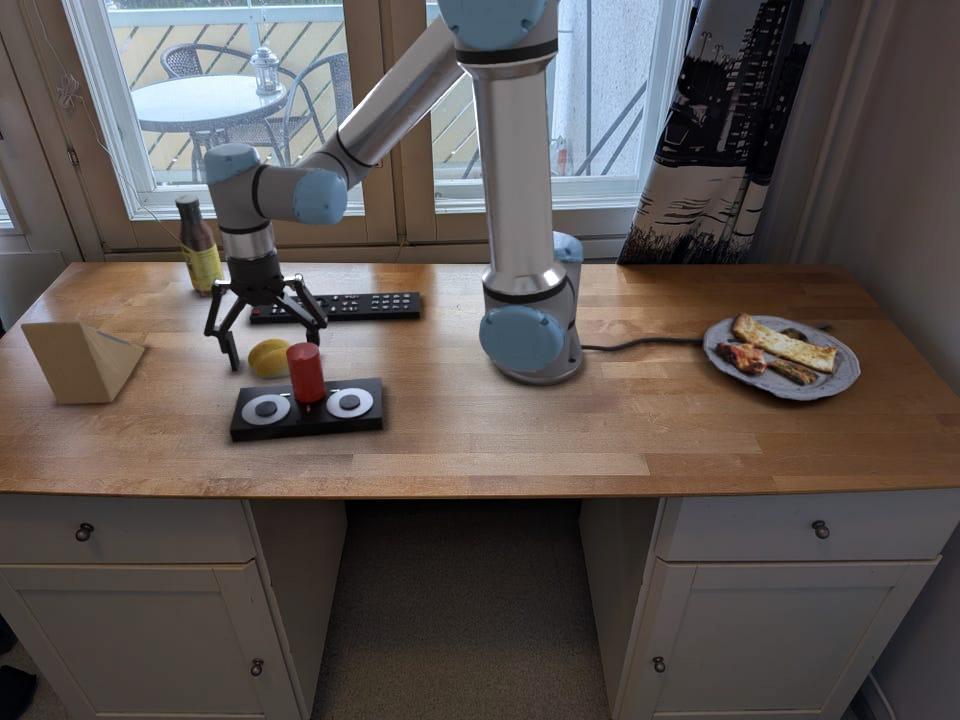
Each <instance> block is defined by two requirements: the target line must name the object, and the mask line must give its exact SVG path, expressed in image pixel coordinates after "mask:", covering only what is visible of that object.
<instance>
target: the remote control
mask: <svg viewBox="0 0 960 720" xmlns="http://www.w3.org/2000/svg"><path fill="white" fill-rule="evenodd" d="M288 296H289V297H290V298H291V299H292V300H294V301H295V302H296V303H297V304H298V305H299V306H301V307H302V308H303V309H304V310H305V311H306V312H308V313H309V314H310V312H309V311H308V310H307V308H306V307H305V305H304V304H303V303H302V301H301V300H300V299H299V297H298V296H297V295H288ZM312 296H313V297H314V298H315V300H316V301H317V303H318V304H319V305H320V307H321V308H322V310H323V311H324V312H325V314H326V315H327V317H328V323H336V322H364V321H366V322H367V321H392V320H397V321H398V320H419V319H421V292H420V291H407V292H379V293H376V292H375V293H349V294H348V293H346V294H345V293H343V294H342V293H341V294H317V295H315V294H314V295H313V294H312ZM310 315H311V314H310ZM311 316H312V315H311ZM312 317H313V316H312ZM249 322H250V326H253V325H256V326H257V325H283V324H285V325H286V324H300V323H299V322H298V321H297V320H295V319H294V318H293V317H292V316H291V315H289V314H288V313H287V312H286V311H285V310H283V309H280V308H279V307H278V306H276V305H275V304H274V303H273V304H272V305H271V306H265V305H259V306H255V307H252V309H251V311H250V315H249Z"/></svg>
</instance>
